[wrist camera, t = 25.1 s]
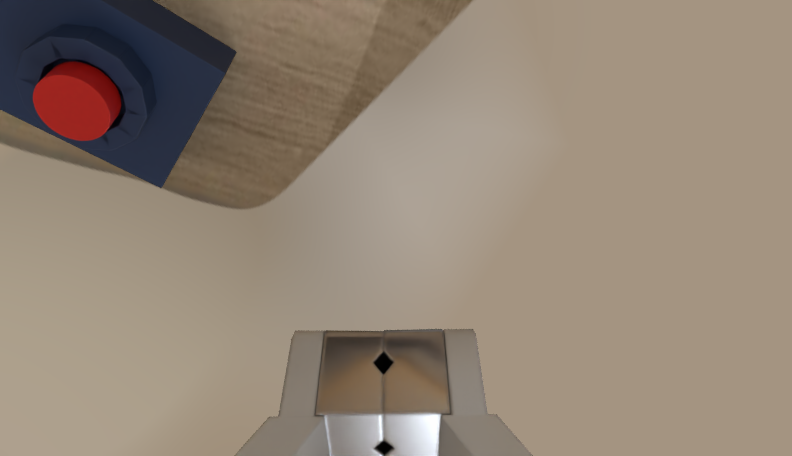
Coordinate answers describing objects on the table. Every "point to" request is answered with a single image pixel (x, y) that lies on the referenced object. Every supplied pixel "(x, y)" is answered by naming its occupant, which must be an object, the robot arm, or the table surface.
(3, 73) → the stop box
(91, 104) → the stop button
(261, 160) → the table surface
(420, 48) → the table surface
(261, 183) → the table surface
